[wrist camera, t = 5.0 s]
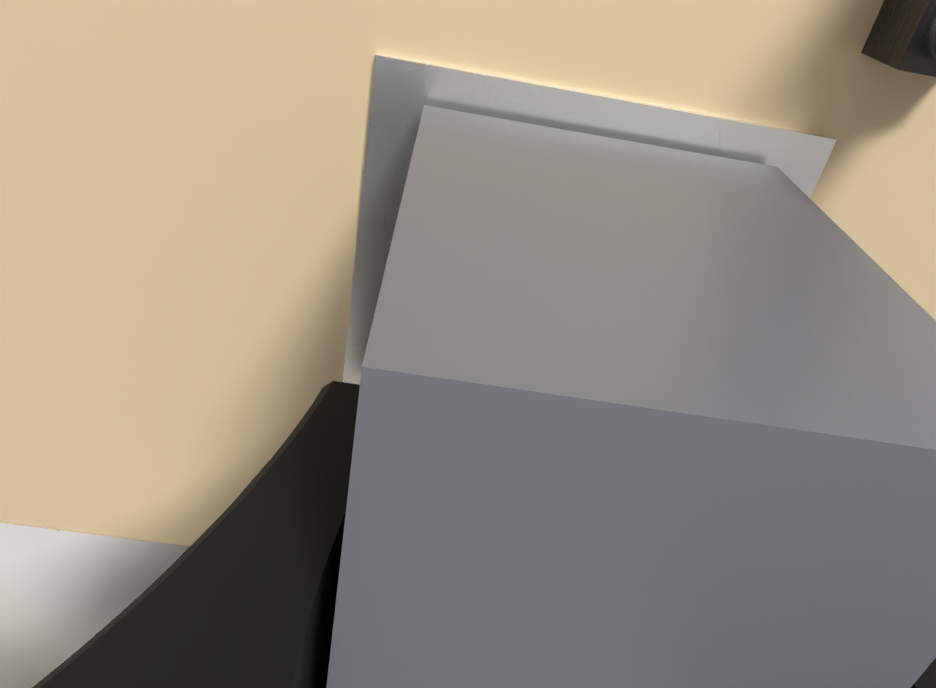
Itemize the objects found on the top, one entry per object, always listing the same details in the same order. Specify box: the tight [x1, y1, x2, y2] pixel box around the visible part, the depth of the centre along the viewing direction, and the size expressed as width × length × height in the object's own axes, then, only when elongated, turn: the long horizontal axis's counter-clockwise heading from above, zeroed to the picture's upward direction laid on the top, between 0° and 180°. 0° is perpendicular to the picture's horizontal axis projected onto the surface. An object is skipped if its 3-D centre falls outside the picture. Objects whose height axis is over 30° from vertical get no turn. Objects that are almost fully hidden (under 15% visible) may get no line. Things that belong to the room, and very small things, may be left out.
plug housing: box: [326, 105, 936, 688], centre depth 8 cm, size 7×4×5 cm, turn 170°
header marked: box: [343, 53, 836, 385], centre depth 9 cm, size 8×5×3 cm, turn 170°
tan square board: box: [0, 0, 936, 546], centre depth 9 cm, size 12×14×1 cm
